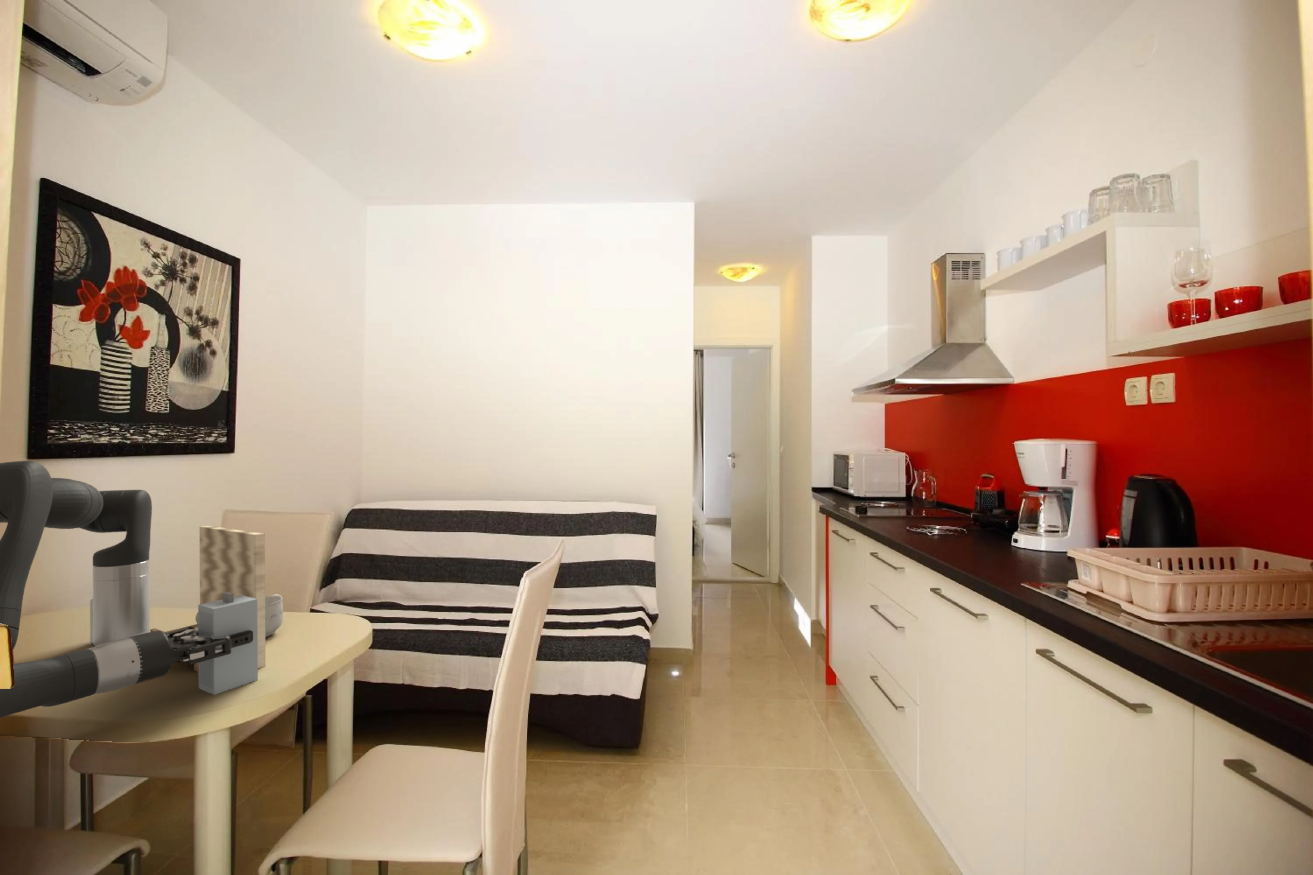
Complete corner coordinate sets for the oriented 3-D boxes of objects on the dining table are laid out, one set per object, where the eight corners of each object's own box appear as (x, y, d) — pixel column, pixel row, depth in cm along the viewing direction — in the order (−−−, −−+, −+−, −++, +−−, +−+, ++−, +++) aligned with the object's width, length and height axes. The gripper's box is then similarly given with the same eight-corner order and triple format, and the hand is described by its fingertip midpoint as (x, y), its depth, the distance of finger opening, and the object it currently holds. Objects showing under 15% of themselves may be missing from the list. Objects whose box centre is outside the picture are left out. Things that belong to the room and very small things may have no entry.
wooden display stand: (145, 663, 115) (145, 533, 115) (208, 646, 125) (208, 525, 125) (201, 686, 105) (200, 542, 105) (265, 665, 114) (264, 533, 114)
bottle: (198, 688, 104) (197, 595, 104) (242, 674, 110) (241, 586, 110) (214, 694, 101) (213, 599, 101) (257, 679, 108) (257, 590, 107)
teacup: (254, 646, 125) (253, 609, 125) (212, 643, 127) (212, 606, 127) (305, 625, 138) (305, 592, 138) (267, 623, 140) (266, 589, 140)
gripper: (147, 646, 90) (260, 617, 104) (108, 631, 97) (219, 605, 111) (147, 694, 90) (260, 658, 104) (108, 676, 97) (220, 645, 111)
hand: (239, 631), depth 107 cm, fingers open, 8 cm apart
